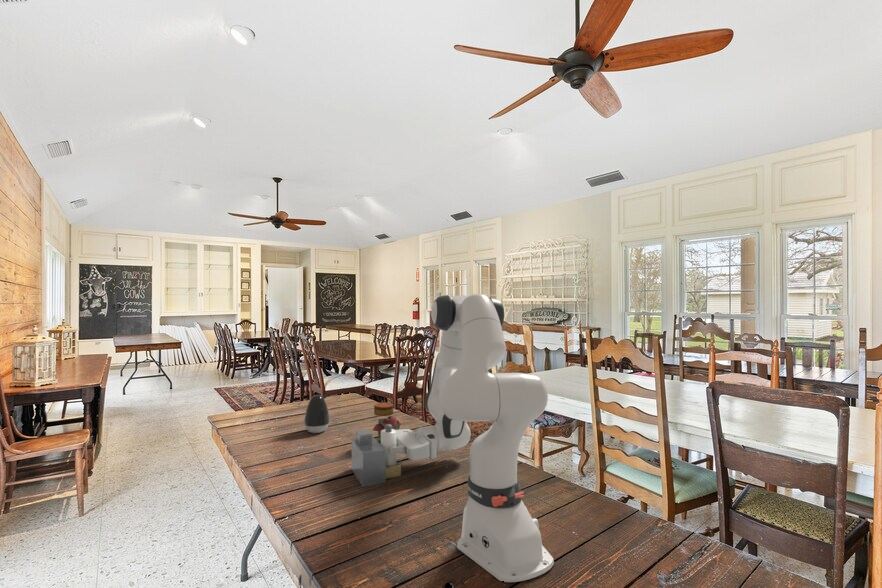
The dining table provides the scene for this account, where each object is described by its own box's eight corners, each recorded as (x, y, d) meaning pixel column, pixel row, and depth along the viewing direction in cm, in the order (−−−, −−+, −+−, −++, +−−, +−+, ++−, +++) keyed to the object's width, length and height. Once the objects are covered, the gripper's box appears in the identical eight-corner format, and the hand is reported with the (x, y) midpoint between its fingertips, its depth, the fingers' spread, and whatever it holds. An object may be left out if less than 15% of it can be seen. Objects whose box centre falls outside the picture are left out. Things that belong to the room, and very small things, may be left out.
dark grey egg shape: (335, 429, 178) (335, 393, 178) (315, 436, 169) (315, 399, 169) (318, 425, 183) (318, 390, 183) (298, 432, 174) (299, 395, 175)
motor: (403, 478, 131) (404, 437, 131) (363, 487, 126) (363, 443, 126) (387, 460, 146) (387, 422, 146) (350, 467, 140) (350, 428, 140)
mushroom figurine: (392, 451, 154) (392, 410, 154) (362, 446, 159) (362, 406, 159) (406, 440, 165) (406, 402, 165) (378, 436, 170) (378, 399, 170)
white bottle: (398, 469, 135) (398, 426, 135) (383, 472, 133) (383, 428, 133) (393, 464, 140) (393, 422, 140) (378, 466, 138) (378, 424, 138)
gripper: (413, 422, 151) (376, 428, 145) (437, 440, 133) (396, 447, 127) (413, 440, 151) (376, 446, 145) (437, 460, 133) (396, 468, 127)
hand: (385, 447), depth 136 cm, fingers closed on white bottle, 5 cm apart
